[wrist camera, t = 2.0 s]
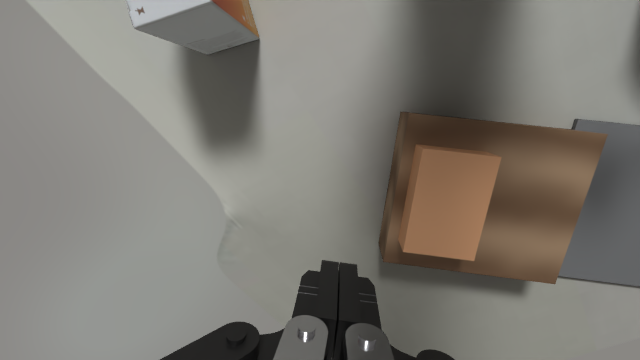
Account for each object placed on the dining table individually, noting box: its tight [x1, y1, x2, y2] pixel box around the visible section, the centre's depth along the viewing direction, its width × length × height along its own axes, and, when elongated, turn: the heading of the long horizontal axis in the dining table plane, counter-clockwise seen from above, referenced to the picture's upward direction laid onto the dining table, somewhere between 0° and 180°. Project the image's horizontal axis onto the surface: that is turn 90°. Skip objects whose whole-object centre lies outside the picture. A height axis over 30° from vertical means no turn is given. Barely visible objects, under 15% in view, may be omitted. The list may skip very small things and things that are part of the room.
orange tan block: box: [398, 144, 502, 261], centre depth 25 cm, size 9×6×2 cm, turn 174°
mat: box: [558, 119, 640, 286], centre depth 29 cm, size 16×16×1 cm
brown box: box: [379, 112, 608, 284], centre depth 28 cm, size 14×16×4 cm
